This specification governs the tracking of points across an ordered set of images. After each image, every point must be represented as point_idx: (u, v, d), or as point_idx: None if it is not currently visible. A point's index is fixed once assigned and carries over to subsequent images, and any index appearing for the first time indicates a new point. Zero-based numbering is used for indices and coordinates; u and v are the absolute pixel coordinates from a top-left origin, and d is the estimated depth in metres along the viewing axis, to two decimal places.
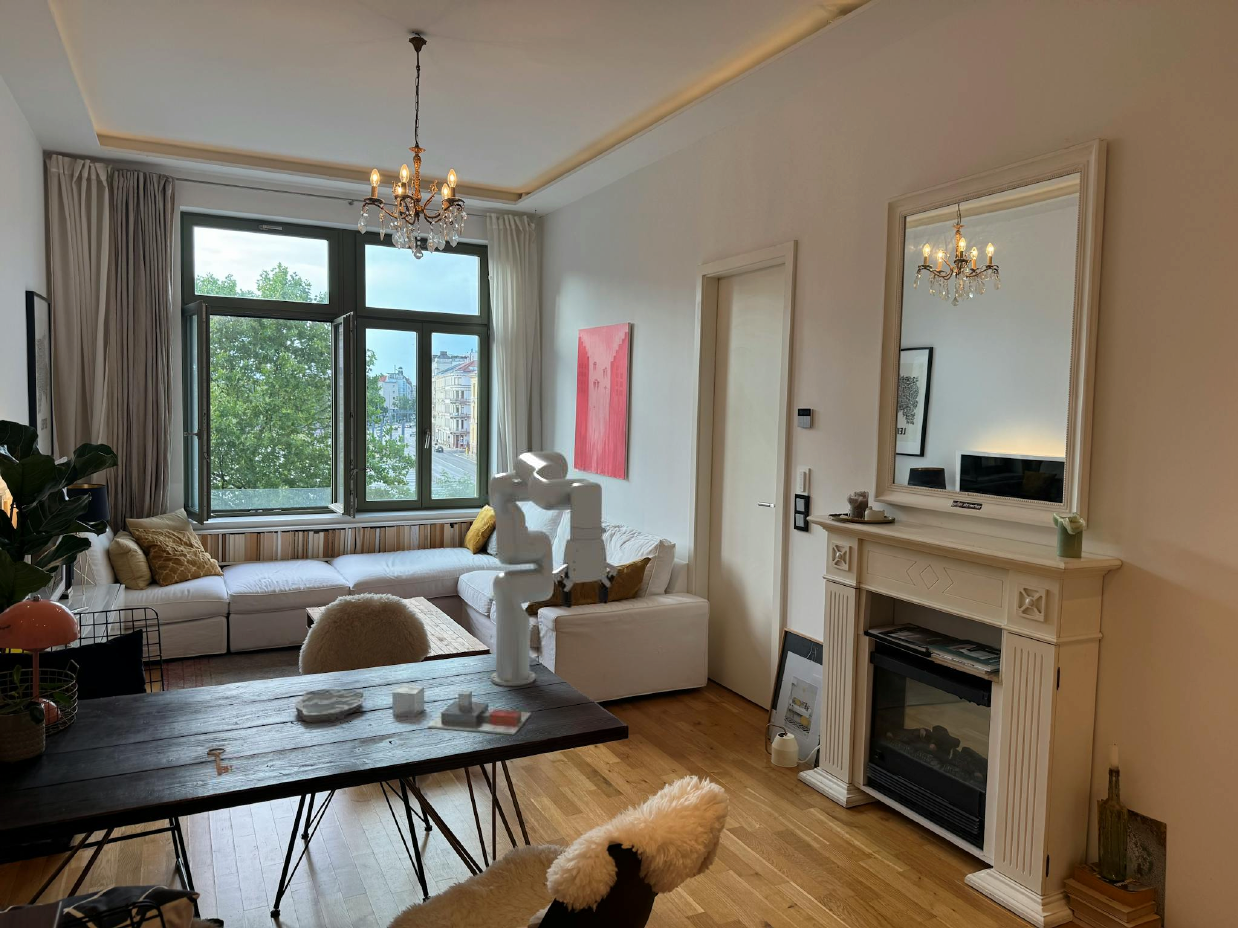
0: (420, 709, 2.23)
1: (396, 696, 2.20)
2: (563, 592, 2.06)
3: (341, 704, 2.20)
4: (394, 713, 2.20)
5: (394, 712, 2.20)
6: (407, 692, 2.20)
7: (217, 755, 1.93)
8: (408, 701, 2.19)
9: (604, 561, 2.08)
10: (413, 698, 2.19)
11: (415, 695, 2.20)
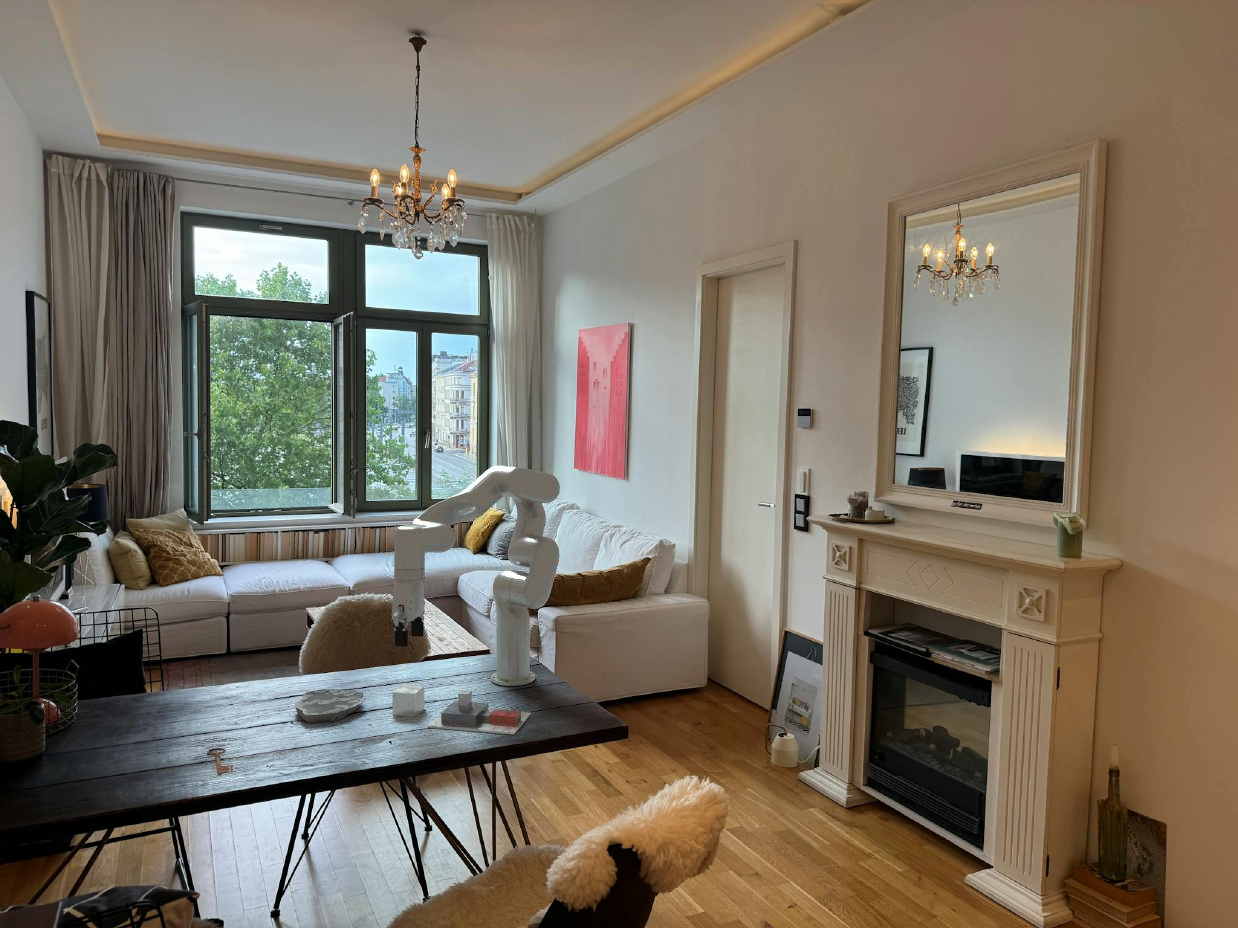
0: (420, 709, 2.23)
1: (396, 696, 2.20)
2: (400, 633, 2.15)
3: (342, 704, 2.20)
4: (394, 713, 2.20)
5: (394, 712, 2.20)
6: (407, 692, 2.20)
7: (217, 755, 1.93)
8: (408, 701, 2.19)
9: (423, 597, 2.24)
10: (413, 698, 2.19)
11: (415, 695, 2.20)
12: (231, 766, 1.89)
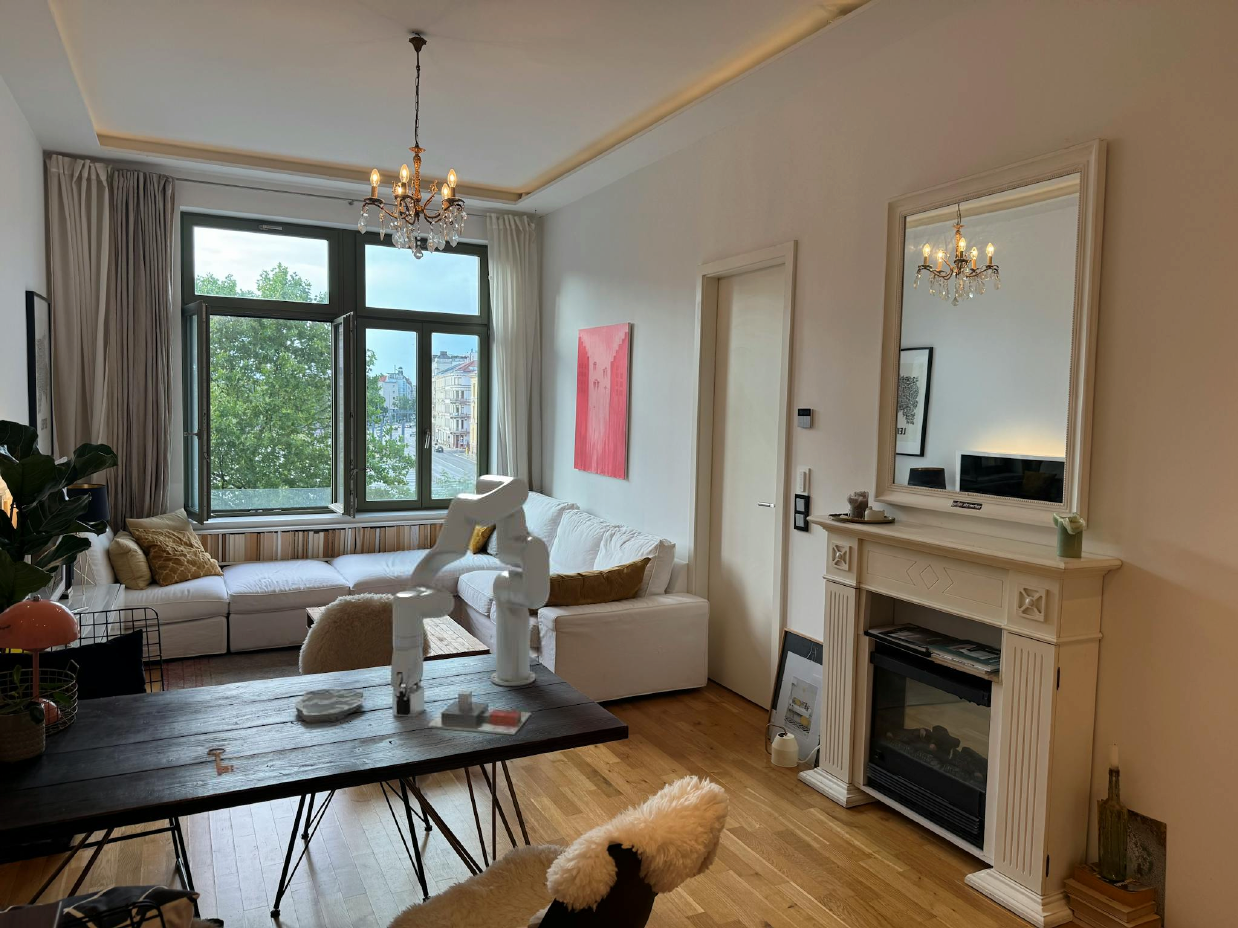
0: (420, 709, 2.23)
1: None
2: (401, 701, 2.18)
3: (342, 704, 2.20)
4: (394, 713, 2.20)
5: (394, 712, 2.20)
6: None
7: (217, 755, 1.93)
8: None
9: (422, 662, 2.26)
10: (413, 698, 2.19)
11: (415, 695, 2.20)
12: (231, 766, 1.89)
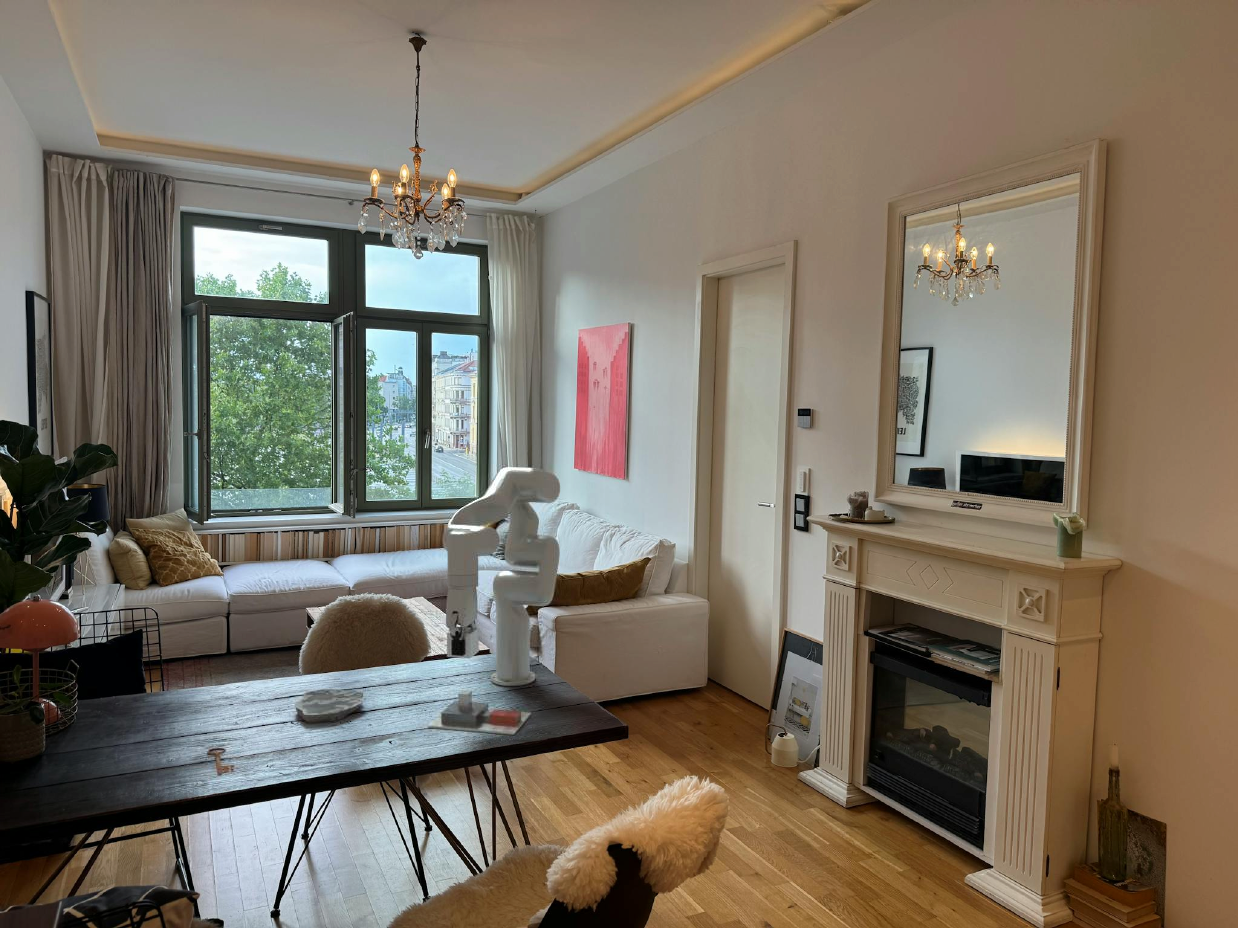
0: (475, 651, 2.17)
1: None
2: (456, 642, 2.12)
3: (342, 704, 2.20)
4: (449, 654, 2.15)
5: (449, 653, 2.15)
6: None
7: (217, 755, 1.93)
8: None
9: (476, 603, 2.20)
10: (468, 639, 2.13)
11: (470, 636, 2.14)
12: (231, 766, 1.89)
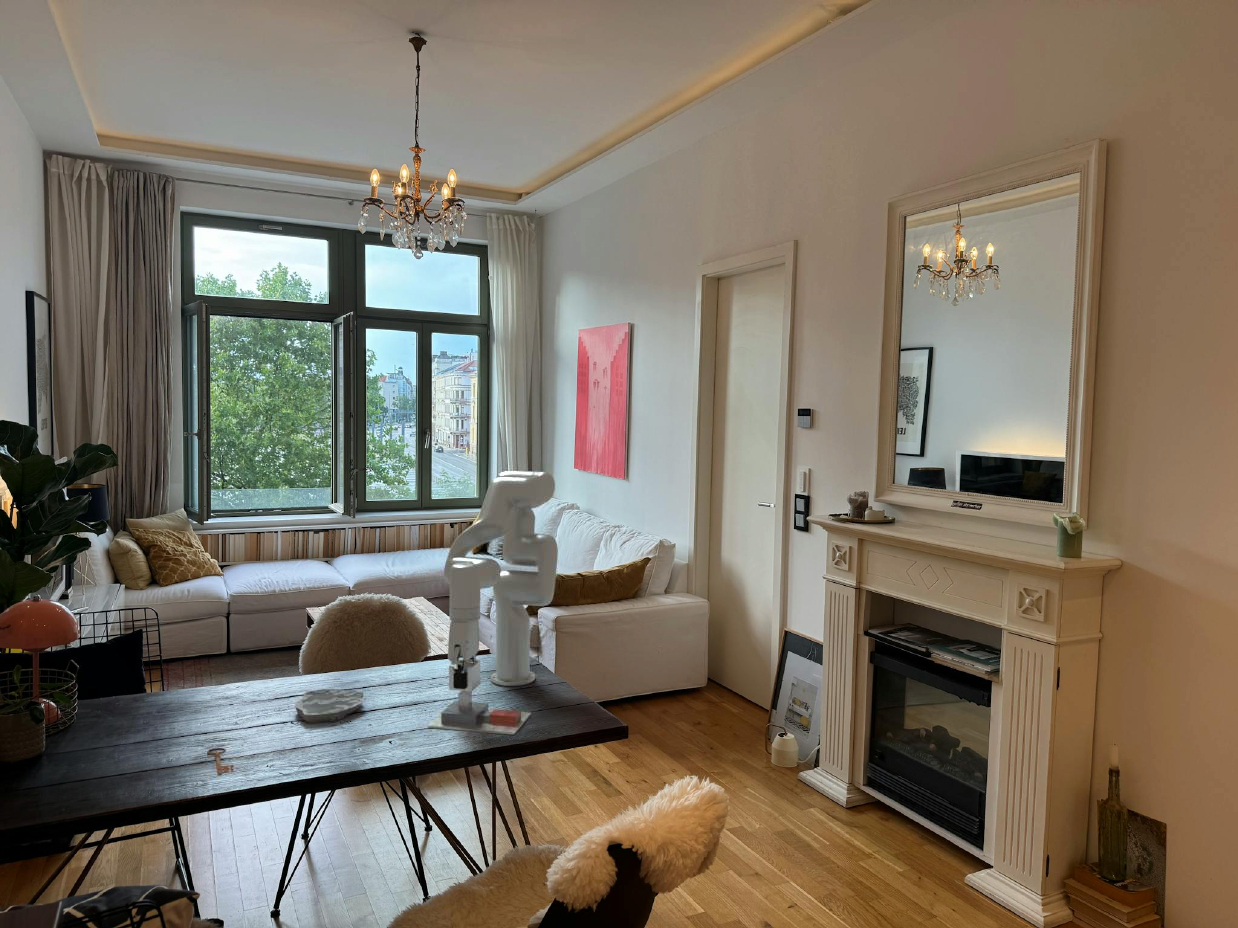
0: (477, 683, 2.17)
1: None
2: (458, 675, 2.13)
3: (342, 704, 2.20)
4: (451, 687, 2.15)
5: (451, 686, 2.15)
6: None
7: (217, 755, 1.93)
8: None
9: (478, 635, 2.20)
10: (470, 672, 2.14)
11: (472, 669, 2.14)
12: (231, 766, 1.89)
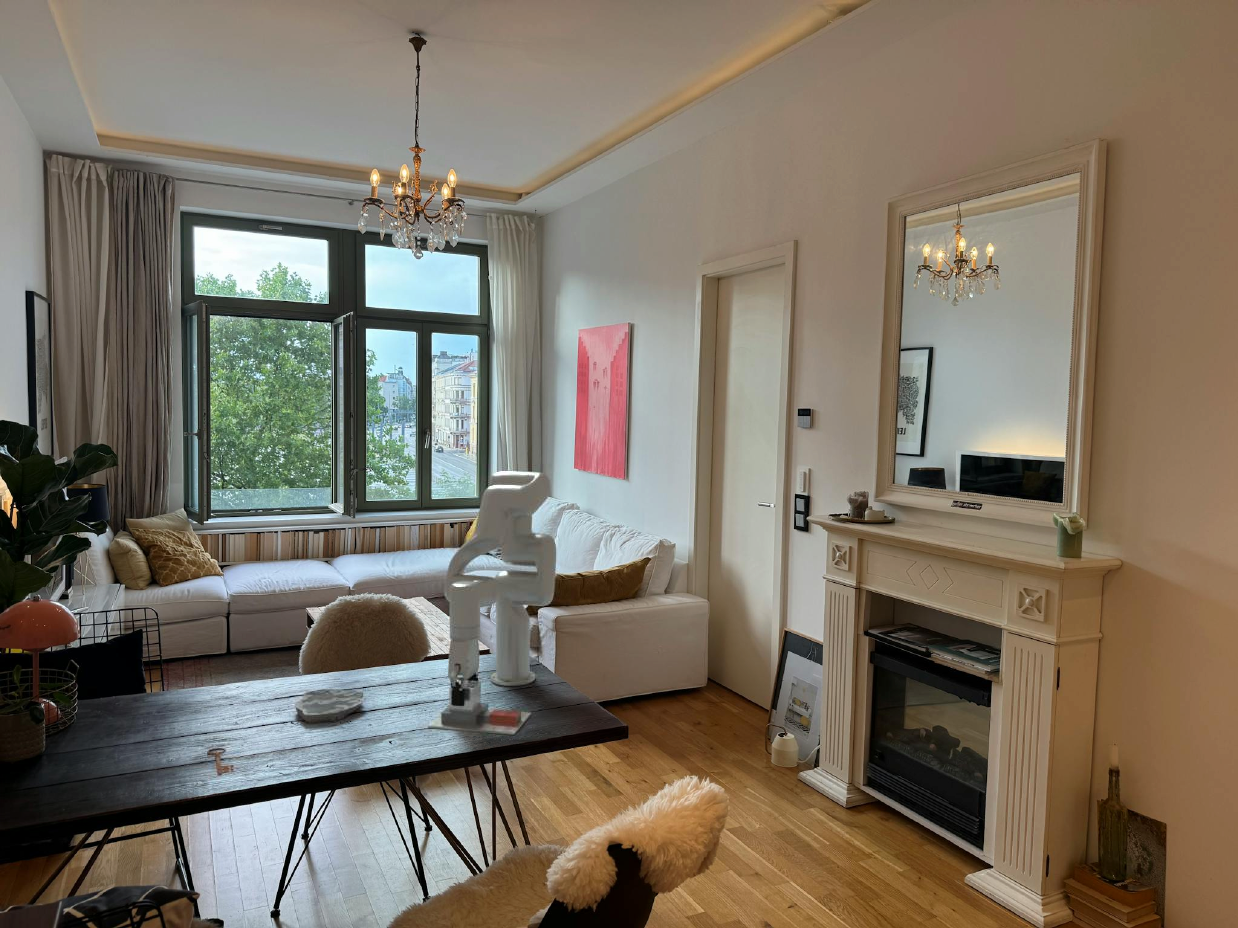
0: (477, 705, 2.18)
1: None
2: (456, 692, 2.12)
3: (342, 704, 2.20)
4: (451, 709, 2.15)
5: (451, 708, 2.15)
6: (464, 687, 2.15)
7: (217, 755, 1.93)
8: (465, 696, 2.14)
9: (478, 653, 2.20)
10: (471, 693, 2.14)
11: (473, 690, 2.15)
12: (231, 766, 1.89)
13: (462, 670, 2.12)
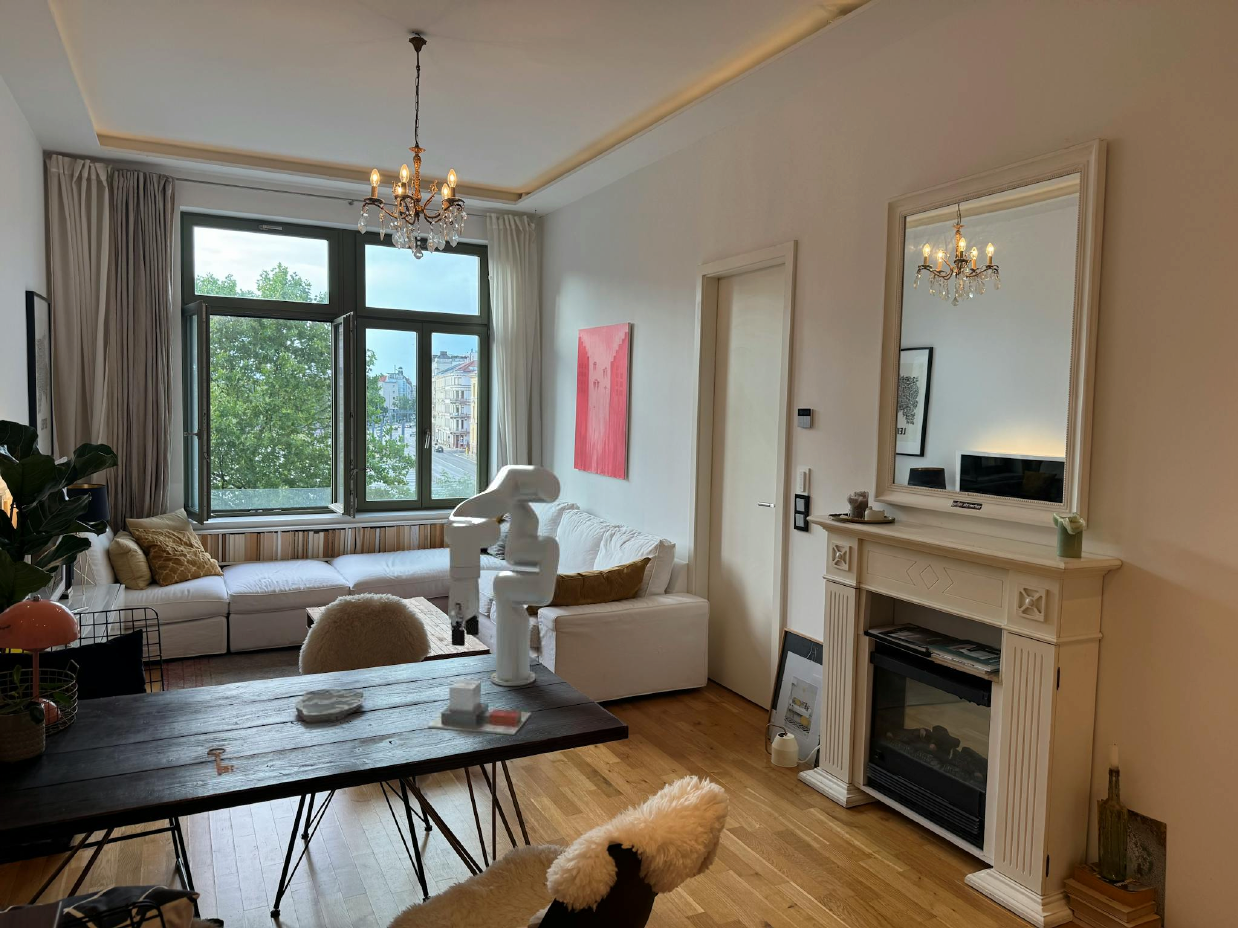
0: (477, 705, 2.18)
1: (453, 691, 2.15)
2: (456, 632, 2.11)
3: (342, 704, 2.20)
4: (451, 709, 2.15)
5: (451, 708, 2.15)
6: (464, 687, 2.15)
7: (217, 755, 1.93)
8: (465, 696, 2.14)
9: (478, 595, 2.20)
10: (471, 693, 2.14)
11: (473, 690, 2.15)
12: (231, 766, 1.89)
13: (462, 610, 2.11)
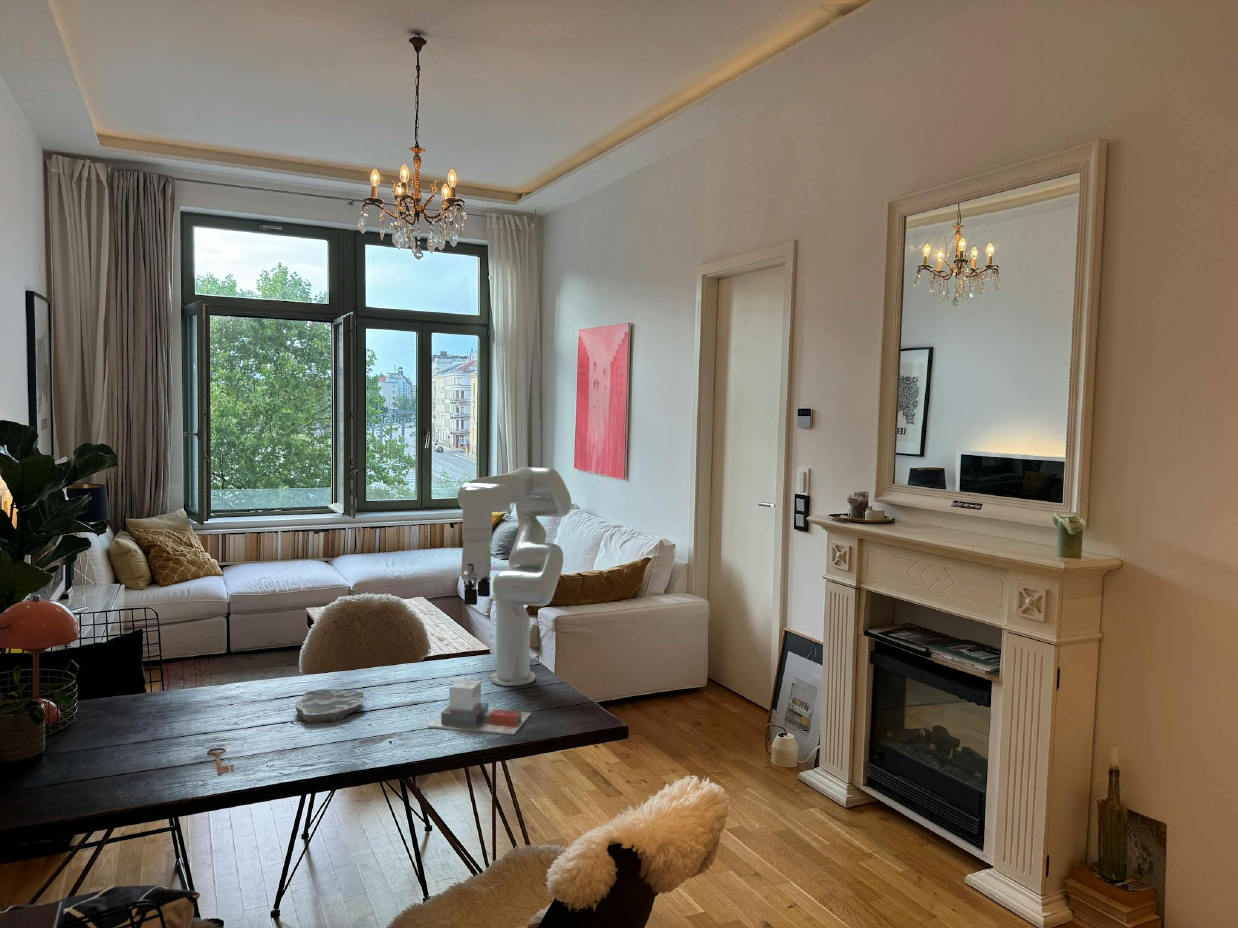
0: (477, 705, 2.18)
1: (453, 691, 2.15)
2: (469, 591, 2.19)
3: (342, 704, 2.20)
4: (451, 709, 2.15)
5: (451, 708, 2.15)
6: (464, 687, 2.15)
7: (217, 755, 1.93)
8: (465, 696, 2.14)
9: (490, 557, 2.28)
10: (471, 693, 2.14)
11: (473, 690, 2.15)
12: (231, 766, 1.89)
13: (475, 570, 2.19)
